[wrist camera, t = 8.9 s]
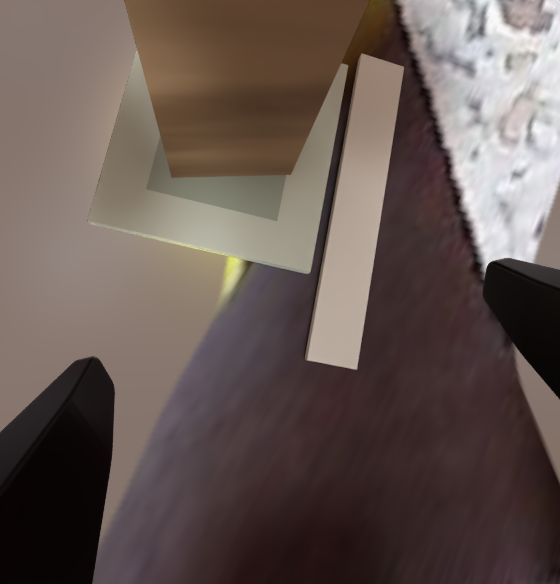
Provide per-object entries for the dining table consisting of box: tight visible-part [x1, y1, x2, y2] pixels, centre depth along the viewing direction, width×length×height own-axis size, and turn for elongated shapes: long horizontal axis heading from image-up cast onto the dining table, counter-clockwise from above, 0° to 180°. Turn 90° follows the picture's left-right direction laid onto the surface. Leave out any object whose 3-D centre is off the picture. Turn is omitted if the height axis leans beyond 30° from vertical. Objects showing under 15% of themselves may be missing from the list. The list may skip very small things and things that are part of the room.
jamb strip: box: [305, 54, 404, 370], centre depth 19 cm, size 16×2×1 cm, turn 169°
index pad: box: [87, 50, 348, 274], centre depth 18 cm, size 11×10×1 cm
